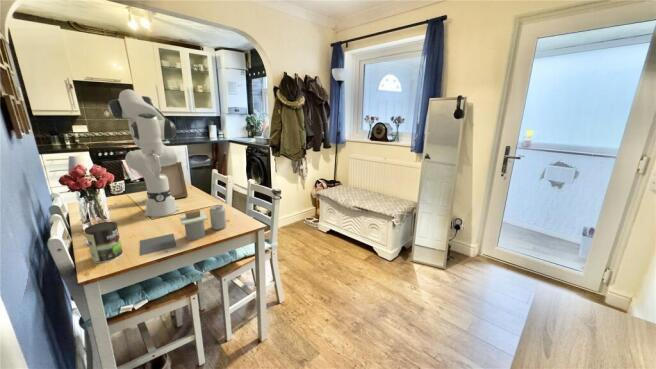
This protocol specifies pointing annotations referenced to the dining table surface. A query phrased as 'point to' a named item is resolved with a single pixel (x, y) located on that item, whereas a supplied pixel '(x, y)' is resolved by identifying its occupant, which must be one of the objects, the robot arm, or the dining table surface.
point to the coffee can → (104, 241)
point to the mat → (157, 244)
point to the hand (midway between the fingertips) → (157, 177)
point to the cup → (195, 230)
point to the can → (217, 217)
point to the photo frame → (175, 180)
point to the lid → (193, 217)
